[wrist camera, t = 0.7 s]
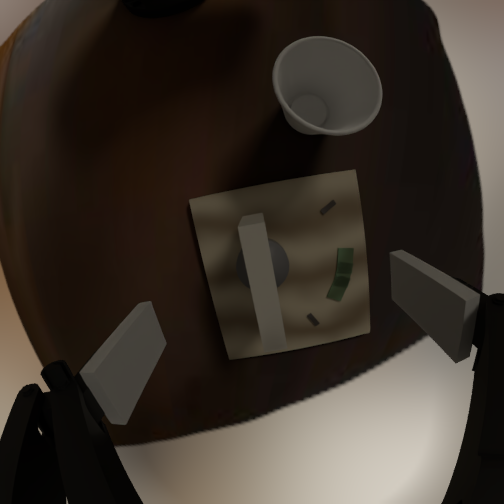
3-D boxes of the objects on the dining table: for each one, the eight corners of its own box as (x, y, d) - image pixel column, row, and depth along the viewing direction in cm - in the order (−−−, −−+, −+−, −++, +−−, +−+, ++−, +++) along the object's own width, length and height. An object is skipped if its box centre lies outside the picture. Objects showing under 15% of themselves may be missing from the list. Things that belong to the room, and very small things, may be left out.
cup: (343, 157, 32) (379, 146, 21) (262, 143, 32) (265, 124, 21) (349, 85, 30) (383, 51, 19) (272, 70, 29) (278, 27, 19)
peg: (227, 217, 33) (214, 231, 23) (278, 207, 32) (287, 217, 23) (252, 334, 36) (251, 381, 26) (298, 326, 36) (310, 371, 26)
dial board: (191, 199, 33) (188, 199, 32) (352, 170, 32) (356, 169, 31) (230, 355, 38) (229, 360, 37) (367, 328, 37) (370, 333, 36)
